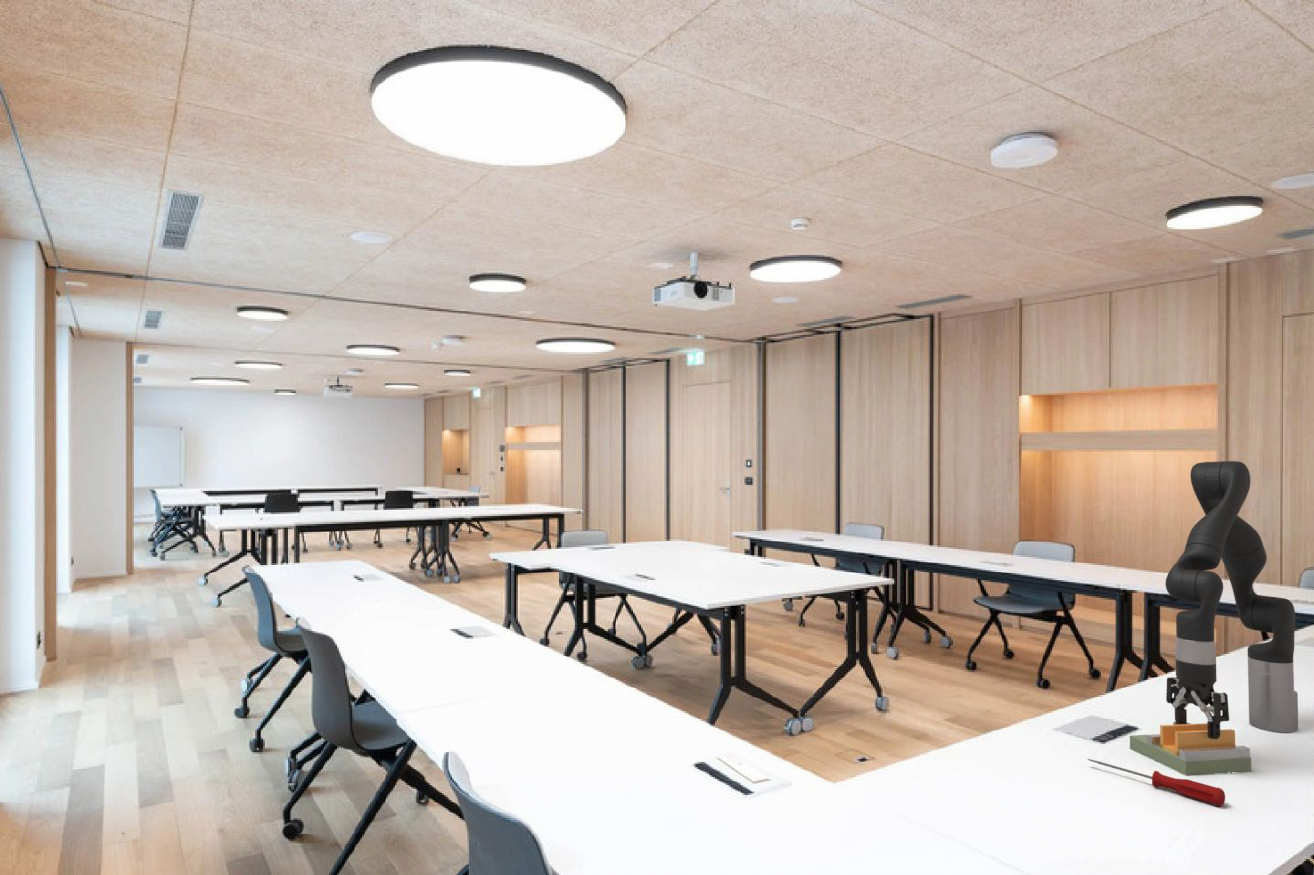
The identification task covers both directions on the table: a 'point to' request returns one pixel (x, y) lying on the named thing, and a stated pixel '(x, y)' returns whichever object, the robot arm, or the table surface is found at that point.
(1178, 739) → the discharge chute
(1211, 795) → the screwdriver
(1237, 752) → the chute cradle
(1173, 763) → the marble run board
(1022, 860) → the table surface
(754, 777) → the white flat rectangular slab
